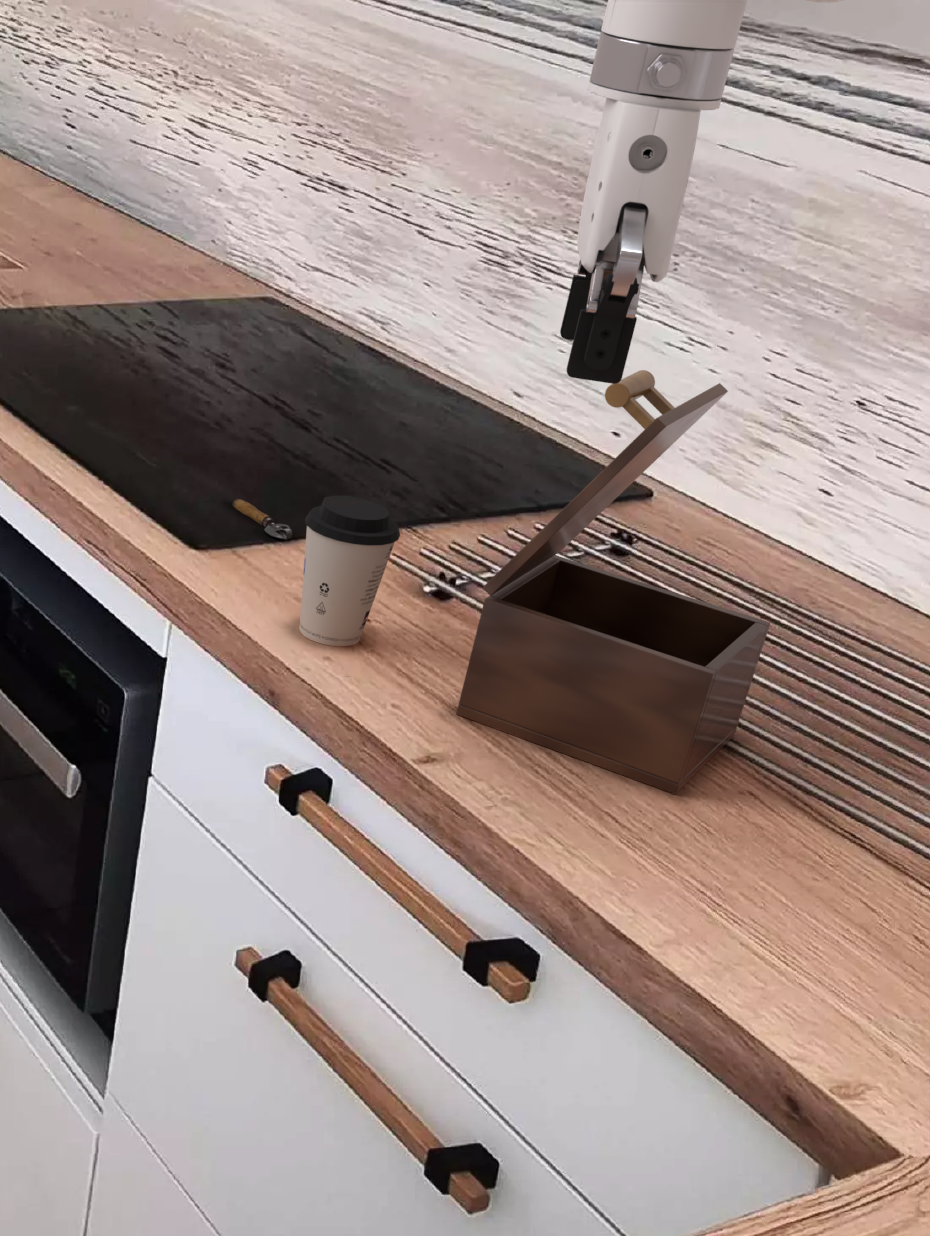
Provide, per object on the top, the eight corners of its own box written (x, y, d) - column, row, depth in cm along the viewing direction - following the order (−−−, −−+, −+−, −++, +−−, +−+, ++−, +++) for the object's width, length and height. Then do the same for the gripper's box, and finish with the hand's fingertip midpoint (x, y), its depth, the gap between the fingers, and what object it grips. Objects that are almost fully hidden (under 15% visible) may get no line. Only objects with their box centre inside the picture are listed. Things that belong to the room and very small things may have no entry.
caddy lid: (728, 391, 133) (677, 340, 134) (666, 426, 123) (611, 372, 124) (559, 552, 143) (512, 504, 144) (490, 596, 134) (441, 545, 135)
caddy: (733, 736, 140) (770, 622, 136) (675, 794, 130) (713, 673, 126) (524, 664, 148) (553, 554, 143) (455, 714, 138) (484, 598, 134)
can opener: (230, 510, 173) (232, 497, 173) (254, 510, 174) (256, 497, 173) (276, 544, 165) (278, 530, 165) (301, 544, 166) (303, 530, 166)
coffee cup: (395, 648, 148) (424, 522, 143) (319, 657, 145) (346, 528, 140) (339, 611, 153) (365, 488, 149) (265, 619, 150) (289, 494, 146)
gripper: (743, 101, 108) (662, 405, 116) (709, 64, 123) (640, 336, 131) (601, 83, 109) (530, 386, 117) (585, 49, 124) (523, 319, 132)
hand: (588, 359), depth 124 cm, fingers open, 9 cm apart
